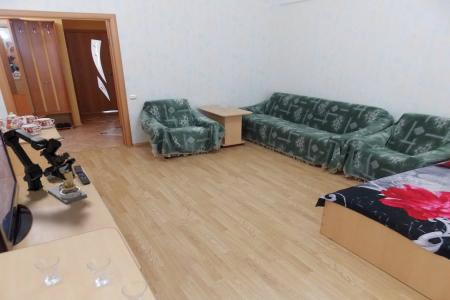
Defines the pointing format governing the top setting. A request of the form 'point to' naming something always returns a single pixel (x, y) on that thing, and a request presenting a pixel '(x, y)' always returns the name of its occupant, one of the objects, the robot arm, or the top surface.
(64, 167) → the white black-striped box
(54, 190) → the board
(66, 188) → the gold pepper grinder
